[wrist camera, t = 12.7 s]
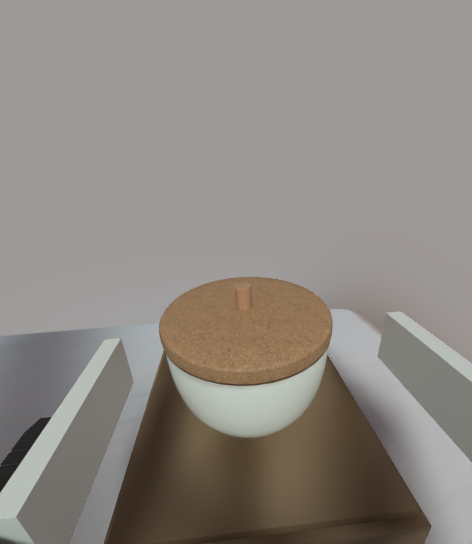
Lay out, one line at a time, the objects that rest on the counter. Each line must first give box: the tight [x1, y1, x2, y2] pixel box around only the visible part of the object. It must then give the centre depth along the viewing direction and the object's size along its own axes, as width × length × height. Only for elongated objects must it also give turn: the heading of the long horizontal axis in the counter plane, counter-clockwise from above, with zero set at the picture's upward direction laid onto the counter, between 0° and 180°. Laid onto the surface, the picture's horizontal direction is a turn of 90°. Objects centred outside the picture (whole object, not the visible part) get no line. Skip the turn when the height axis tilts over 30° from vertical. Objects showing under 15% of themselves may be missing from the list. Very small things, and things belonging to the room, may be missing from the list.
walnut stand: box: [104, 351, 431, 544], centre depth 20 cm, size 16×16×4 cm
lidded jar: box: [159, 277, 332, 438], centre depth 17 cm, size 11×11×9 cm
